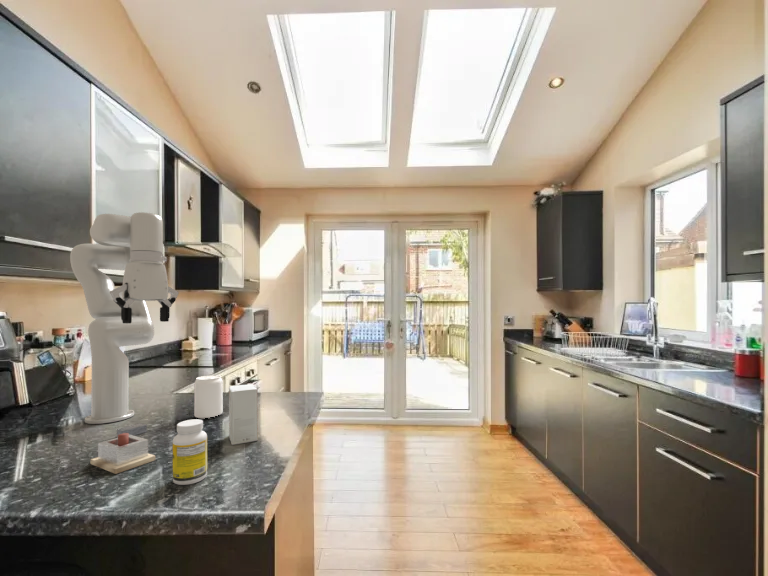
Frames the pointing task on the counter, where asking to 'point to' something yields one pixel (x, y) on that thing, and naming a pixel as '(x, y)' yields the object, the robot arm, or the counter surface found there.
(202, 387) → the beverage can
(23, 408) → the counter surface
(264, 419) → the counter surface
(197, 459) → the pill bottle
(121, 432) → the grey plaster slab
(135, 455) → the white hollow block
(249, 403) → the small box
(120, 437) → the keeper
